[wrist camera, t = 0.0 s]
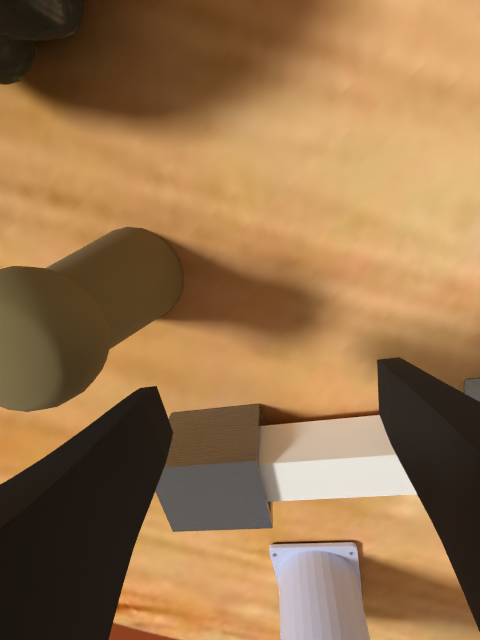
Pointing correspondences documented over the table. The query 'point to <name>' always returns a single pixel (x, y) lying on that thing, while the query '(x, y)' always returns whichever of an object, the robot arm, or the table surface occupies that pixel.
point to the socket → (473, 388)
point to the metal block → (215, 471)
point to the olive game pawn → (79, 314)
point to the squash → (32, 31)
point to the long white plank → (330, 460)
